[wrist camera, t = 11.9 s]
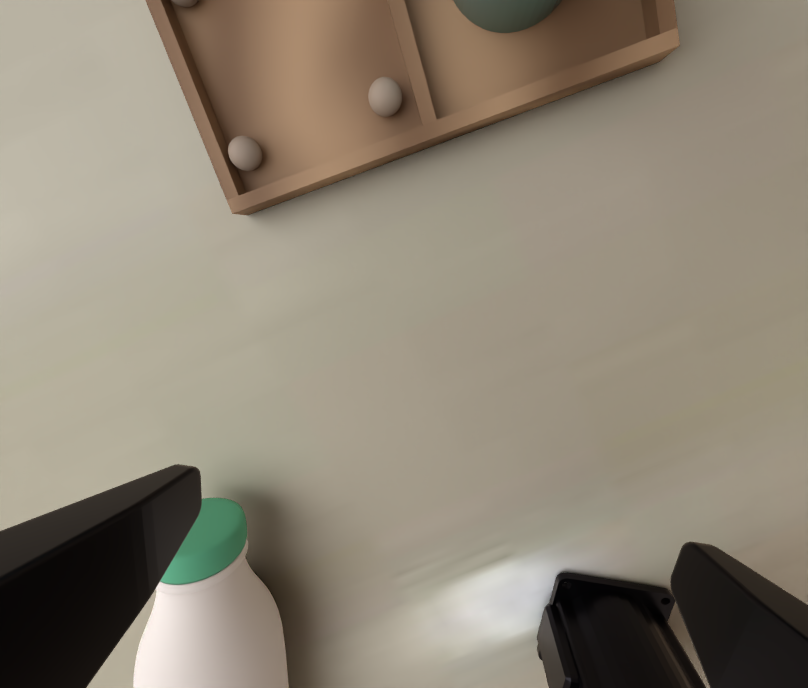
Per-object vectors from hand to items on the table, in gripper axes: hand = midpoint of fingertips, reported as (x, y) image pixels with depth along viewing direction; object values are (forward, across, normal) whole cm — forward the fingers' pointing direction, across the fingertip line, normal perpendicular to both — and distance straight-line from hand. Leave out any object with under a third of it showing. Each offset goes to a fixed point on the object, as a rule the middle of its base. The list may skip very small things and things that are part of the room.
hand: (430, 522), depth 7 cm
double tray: (+13, +4, -14) cm, 19 cm away
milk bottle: (+9, +9, +30) cm, 33 cm away
